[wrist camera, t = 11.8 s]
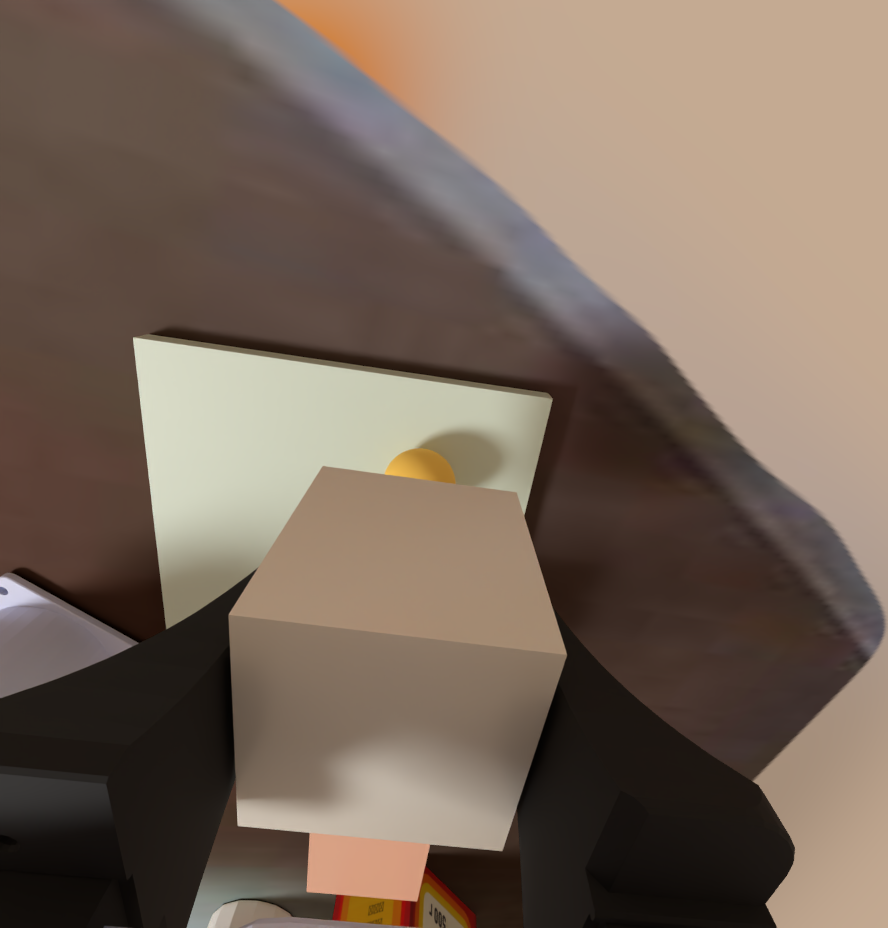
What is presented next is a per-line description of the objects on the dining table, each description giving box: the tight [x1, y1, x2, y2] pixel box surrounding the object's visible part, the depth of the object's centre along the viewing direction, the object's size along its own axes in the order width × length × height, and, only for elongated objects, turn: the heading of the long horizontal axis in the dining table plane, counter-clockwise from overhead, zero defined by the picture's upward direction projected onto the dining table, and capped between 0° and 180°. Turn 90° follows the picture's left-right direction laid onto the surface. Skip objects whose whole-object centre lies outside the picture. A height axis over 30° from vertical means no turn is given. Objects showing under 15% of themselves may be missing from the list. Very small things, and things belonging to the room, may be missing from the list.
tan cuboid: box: [228, 466, 567, 851], centre depth 11 cm, size 6×6×6 cm
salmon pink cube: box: [307, 833, 430, 901], centre depth 25 cm, size 6×6×6 cm
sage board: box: [133, 334, 553, 629], centre depth 24 cm, size 26×17×1 cm, turn 172°
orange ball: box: [385, 448, 456, 484], centre depth 19 cm, size 3×3×3 cm
